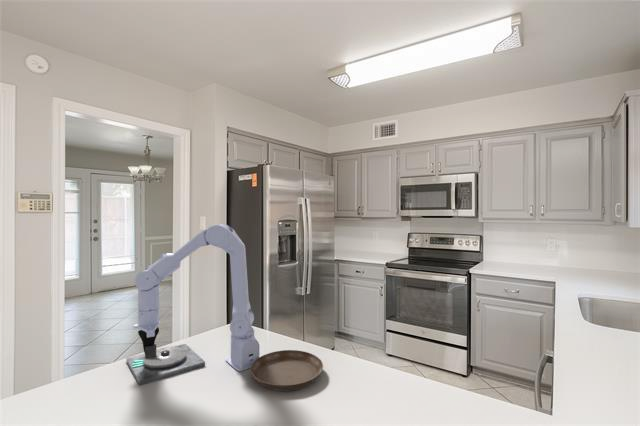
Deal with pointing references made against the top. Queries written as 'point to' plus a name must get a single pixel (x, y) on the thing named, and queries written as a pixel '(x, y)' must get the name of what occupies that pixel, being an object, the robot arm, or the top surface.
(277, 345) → the top surface
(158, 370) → the panel
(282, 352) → the plant saucer
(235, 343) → the robot arm
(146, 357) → the dial
